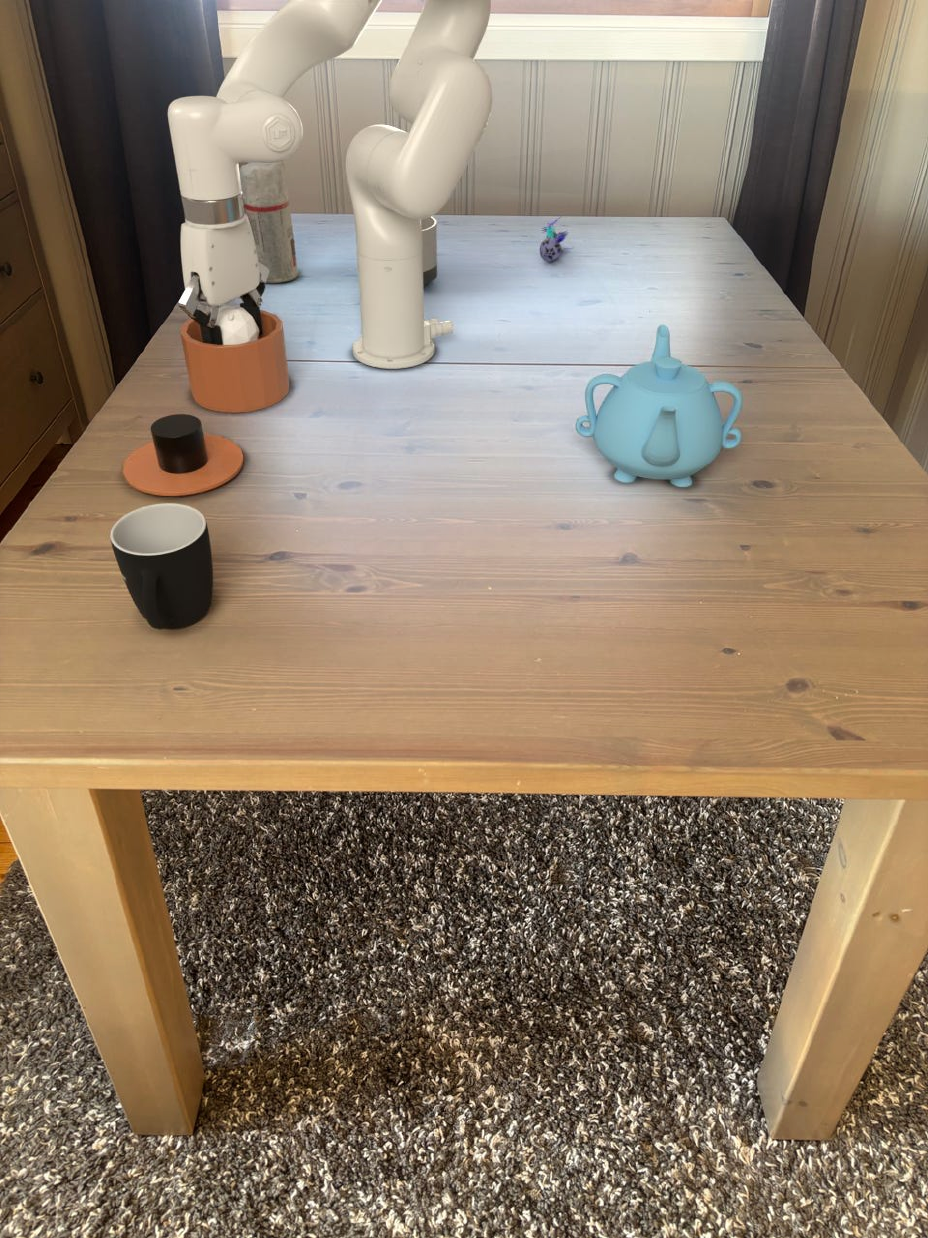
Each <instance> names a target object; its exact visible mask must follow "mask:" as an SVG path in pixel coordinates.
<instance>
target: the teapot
mask: <svg viewBox="0 0 928 1238" xmlns="http://www.w3.org/2000/svg"><path fill="white" fill-rule="evenodd" d="M670 333H671V332H670V330H669V328H668V326H667V325H665V324H659V325H658V327H657V328H656V338H655V344H654V349H653V353H652V356H651V358H650V360H649V361H644V362H640V363H637V364H635V365H633V366H631V367H630V368H629V369H628V370H626V372H625V373H624V374H622V375H621V377H619V376H618V375H615V374H612V373H602V374H598V375H596V376H594V377H593V378H591V379H590V380H589V382H588V383H587V384H586V387H585V391H584V400H585V401H584V403H585V407H586V414H584V415H581V416H579V417H578V418H577V419H576V422H575V430H576V432H577V434H578V435H580V436H581V437H583V438H592V437H593V441H594V444H595V446H596V447H597V449H598V451H599V452H600V453H601V454H602V456H603V458H605V459H606V461H608V463H610V465H612V466H613V467H615V468H616V471H615V473H614V474H613V478H614V479H615V480H616V481H619V482H620V483H633V482H635V481H636V480H637V478H638V477H640V478H644V479H650V480H651V479H652V480H668V481H669V483H670V484H671V485H673V486H675V487H679V488H687V487H690V486H691V485H692V484H693V480H692V477H691V476H692V475H695V474H696V473H698V472H700V471H701V470H703V469H704V468H706V467H707V466H709V465H710V464H711V463H712V462H714V460H715V459H717V457H718V455H719V454H720V452H721V450H722V448H723V449H725V450H726V449H727V450H732V449H736V448H737V447H738V446H739V445H740V444H741V442H742V439H743V435H742V432H741V430H740V429H738V428H737V427H733V426H734V425H735V423H736V421H737V419H738V418H739V415H740V413H741V410H742V407H743V401H744V399H743V394H742V391H741V390H740V389H739V388H738V387H737V386H736V385H735V384H733V383H731V382H728V381H715V382H712V383H709V382H708V379H707V378H706V376H705V375H704V374H703V373H702V372H701V371H699V370H698V369H696V368H695V367H693V366H690V365H687V364H685V363H683V361H682V360H680V359H678V358H676V357H674V356H673V357H672V356H671V342H670V341H671V340H670V338H671V335H670ZM600 385H610V386H612V388H611V389H610V390H609V391H608V393H607V394H606V396H605V397H604V399H603V401H602V402H601V404H600V406H599V408H598V412H597V411H596V407H595V400H594V391H595V388H596V387H597V386H600ZM714 393H727V394H729V395H730V396H732V397H733V405H732V407H731V409H730V412H729V414H728V416H727V417H726V419H725V421H724V423H723V417H722V412H721V409H720V406H719V403H718V400H717V397H716V396H715V394H714ZM584 423H589V426H588V427H586V426H584ZM728 435H733V436H734V437H733V438H730V439H729V438H728Z"/></svg>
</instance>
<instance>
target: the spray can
mask: <svg viewBox="0 0 928 1238" xmlns="http://www.w3.org/2000/svg"><path fill="white" fill-rule="evenodd" d="M285 168H286V167H285V163H284V161H281V162H276V163H254V162H248V163H247V164H243V165H241V167H239V172H240V180H241V188H242V190H243V192H244V193H245V199H244V200H243V203H244V211H245V214H247V217H248V220H249V223H250V226H251V229H252V233H253V237H254V241H255V246H256V251H257V257H258V261H259V262H260V263H262V264H263V265H264V266H266V267H267V268H268V269H269V275H268V278H267V281H266V283H265V284H279V283H281V284H282V283H285V282H289V281H292V280H296V279H297V278H298V277H299V271H298V263H297V255H296V253H297V252H296V247H295V246H296V245H295V239H294V229H293V222H292V215H291V208H290V207H291V206H290V199H289V193H288V188H287V187H288V183H287V177H286V169H285Z"/></svg>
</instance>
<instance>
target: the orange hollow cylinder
mask: <svg viewBox="0 0 928 1238" xmlns="http://www.w3.org/2000/svg"><path fill="white" fill-rule="evenodd" d="M208 313H209V311H205V314H206V315H208ZM260 314H261V322H262V330H263V334H262V335H260V336H258V340H256V341H252V342H247V343H242V344H236V345H214V344H207V343H203V341H202V335H201V329H200V324H197V323H195V321H194V320H193V319H191V318H190V319H188V320H186V321H185V322H184V323H183V324H182V326H181V329H180V332H179V335H180V340H181V344H182V350H183V356H184V358H185V359H184V360H185V361H184V362H185V366H186V371H187V376H188V382H189V387H190V392H191V395H192V398H193V399H194V401H195V402H196V404H198V405H199V406H200V407H202V408H204V409H207V410H211V411H214V412H218V413H219V412H220V413H230V414H233V413H234V414H235V413H238V414H239V413H249V412H254V411H258V410H259V411H260V410H264V409H266V408H269V407H271V406H274V405H276V404H278V403H280V402H281V401H282V400H284V399H285V398H286V396H287V395H288V394H289V392H290V375H289V366H288V357H287V351H286V350H287V349H286V340H285V333H284V332H285V331H284V324H283V320H281V319H280V317H278V316H277V315H276V314H274V313H271V312H269V311H267V310H263V309H260Z"/></svg>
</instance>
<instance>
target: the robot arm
mask: <svg viewBox="0 0 928 1238" xmlns="http://www.w3.org/2000/svg"><path fill="white" fill-rule="evenodd" d="M382 1H383V0H288V2H286V3H285V4H284V5H283V6H282V7H281V8H280V9H279V10H278V11H277V12H276V13H275V14H273V16H272V17H271V18H270V19H269V20H267V22H265V24H264V25H262V27H261V28H260V29H259V30H257V31H256V33H255V34H254V35H253V36H252V37H251V38H250V40H248V42H247V43H246V44H245V46H244V47H243V49H242V50H241V51H240V53H239V55H238V56H237V58H236V59H235V61H234V62H233V65H232V66H231V68H230V69H229V71H228V73H227V74H226V76H225V78H224V79H223V81H222V83H221V85H220V87H219V89H218V91H217V93H216V96H212V95H211V96H210V95H190V96H183V97H178V98H177V99H174V100H173V101H172V102H170V104H169V105H168V107H167V108H168V109H167V119H168V126H169V133H170V139H171V144H172V145H171V146H172V149H173V151H172V152H173V156H174V161H175V162H174V163H175V168H176V174H177V178H178V179H177V180H178V186H179V191H180V197H181V198H180V199H181V203H182V210H183V215H184V222H183V223H181V224H180V259H181V267H182V268H181V271H182V277H183V284H184V291H183V293H182V295H181V297H180V299H179V301H178V307H179V308H180V309H181V310H182V311H183V312H184V313H185V314H186V315H187V317H189V318H190V319H193V320H194V321H195V323H197V324H200V329H201V335H202V341H203V343H207V344H214V345H223V341H222V335H221V329H220V326H218V325H216V321H217V316H218V311H219V308H220V306H222V305H224V304H226V303H228V302H230V301H233V300H235V299H237V298H239V299H241V301H242V302H240V303H239V307H242V308H244V309H245V310H246V311H247V312H248V313H249V314H250V315H251V316H252V317H253V319H254V321H255V323H256V324H257V326H258V328H259V336H260V335H262V334H263V330H262V322H261V314H260V310H261V309H260V308H261V306H262V305H263V297H262V296H263V294H264V292H265V290H266V284H267V283H266V281H267V278H268V275H269V269H268V268H267V267H266V266H264V265H263V264H262V263H260V262H259V261H258V257H257V251H256V246H255V241H254V237H253V233H252V229H251V226H250V223H249V220H248V217H247V214H245V211H244V203H243V200H244V199H245V193H244V192H243V190H242V188H241V180H240V166H239V165H240V164H239V163H250V162H254V163H276V162H281V161H283V162H284V161H286V160H288V159H289V158H291V157H292V156H293V155H295V153H296V152H297V151H298V150H299V148H300V146H301V143H302V141H303V135H304V132H303V131H304V130H303V123H302V120H301V117H300V115H299V114H298V112H297V110H296V108H294V106H293V105H292V104H290V103H289V102H288V101H287V100H286V99H284V97H285V96H286V94H287V93H288V92H289V90H290V89H291V88H292V86H293V85H294V84H295V83H296V82H297V81H298V80H299V79H300V78H301V77H302V76H303V75H304V74H306V73H307V72H308V71H309V70H311V69H313V68H314V67H316V66H318V65H320V64H323V63H325V62H328V61H331V60H333V59H335V58H337V57H339V56H341V55H343V54H345V53H346V52H349V50H351V49H352V48H353V47H354V46H355V45H356V44H357V42H358V40H359V38H360V37H361V35H362V34H363V32H364V30H365V29H366V27H367V26H368V24H369V22H370V20H371V19H372V17H373V16H374V14H375V13H376V11H377V10H378V7H380V4H381V3H382ZM491 7H492V0H425V3H424V5H423V7H422V10H421V12H420V15H419V16H418V19H417V22H416V24H415V27H414V28H413V30H412V32H411V35H410V37H409V39H408V41H407V43H406V45H405V47H404V49H403V51H402V53H401V55H400V58H399V60H398V62H397V64H396V66H395V68H394V70H393V73H392V75H391V78H390V82H389V87H388V96H389V101H390V105H391V107H392V109H393V111H394V112H395V113H396V114H397V115H398V116H399V117H400V118H401V119H402V120H404V121H406V122H407V123H410V124H411V125H412V126H411V128H410V129H409V130H410V131H409V132H407V131H405V130H402V129H400V128H397V127H395V126H391V125H389V124H388V125H387V124H373V125H369V126H366V127H364V128H363V129H361V130H360V131H358V132H357V133H356V134H355V135H354V136H353V138H352V140H351V141H350V142H349V145H348V148H347V151H346V156H345V177H346V184H347V189H348V192H349V198H350V201H351V206H352V212H353V219H354V230H355V231H354V232H355V242H356V243H355V244H356V263H357V275H358V293H359V308H360V309H359V310H360V322H361V323H360V324H361V336H360V337H359V338H357V339H356V340H355V341H354V343H353V344H352V354H353V357H354V359H355V360H357V361H358V362H360V363H361V364H364V365H365V366H369V367H373V368H378V369H386V370H389V369H391V370H398V369H399V370H400V369H407V368H408V369H409V368H414V367H416V366H419V365H422V364H425V363H426V362H428V361H430V359H431V358H432V357H433V356H434V355H435V343H434V341H433V340H434V339H436V337H437V336H444V335H450V334H453V333H454V324H453V322H452V321H451V320H446V321H441V322H439V321H438V319H437V318H436V317H435V318H429V319H425V303H424V301H425V300H424V297H425V296H424V286H423V238H422V226H421V220H420V219H426V218H429V217H433V216H435V215H437V214H438V213H439V212H440V211H441V210H442V209H443V208H444V207H445V205H446V204H447V203H448V201H449V200H450V198H451V197H452V195H453V193H454V192H455V190H456V188H457V186H458V184H459V182H460V180H461V178H462V176H463V174H464V172H465V170H466V168H467V166H468V164H469V162H470V161H471V158H472V157H473V155H474V153H475V151H476V148H477V147H478V145H479V142H480V140H481V139H482V136H483V135H484V133H485V130H486V128H487V125H488V123H489V120H490V116H491V112H492V111H491V110H492V108H493V107H492V106H493V88H492V83H491V80H490V77H489V75H488V73H487V71H486V70H485V68H484V67H483V66H482V65H481V64H480V63H479V62H478V61H477V60H475V57H476V55H477V52H478V50H479V48H480V46H481V43H482V41H483V39H484V36H485V34H486V31H487V29H488V25H489V21H490V18H491V17H490V16H491V9H492V8H491ZM196 301H197V303H196ZM207 307H209V308H208V312H209V313H208V315H206V314H205V313H206V312H207Z"/></svg>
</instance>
